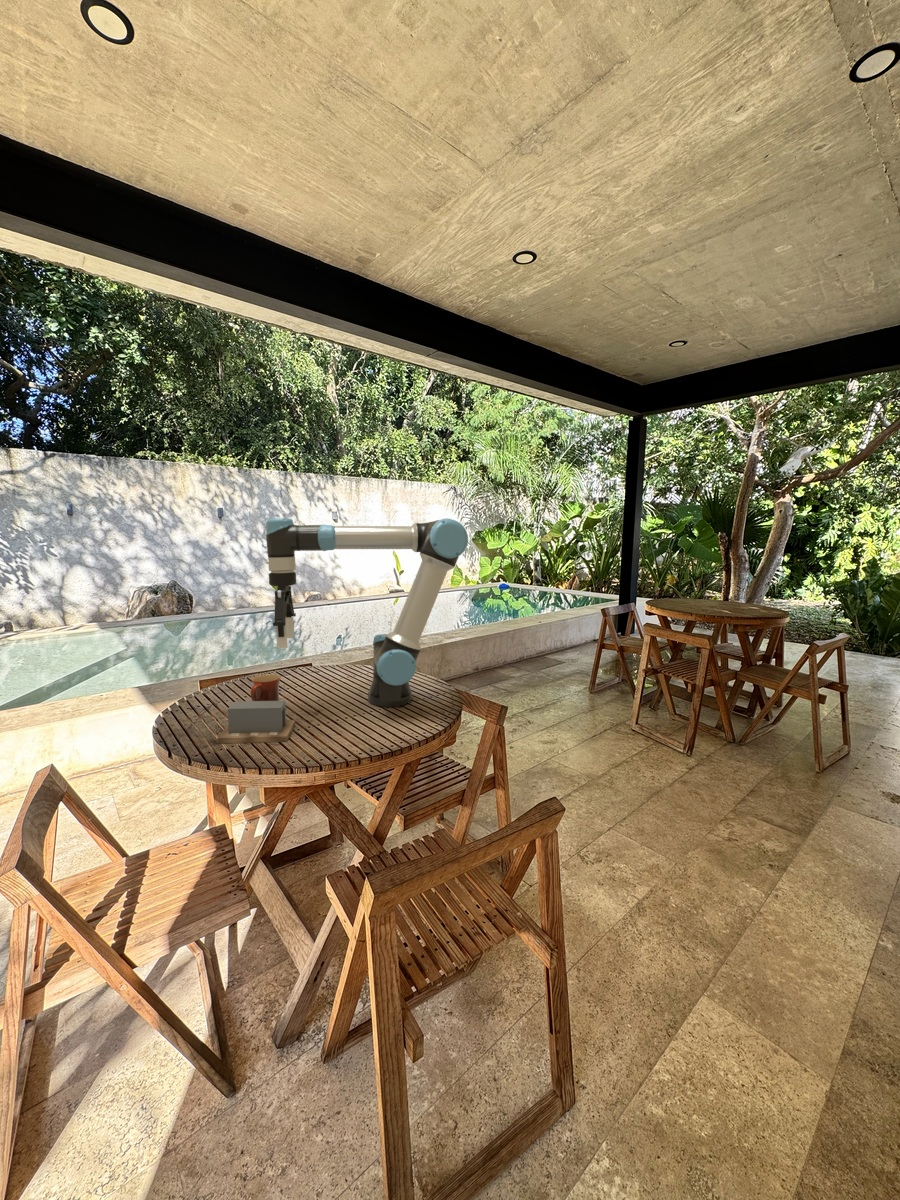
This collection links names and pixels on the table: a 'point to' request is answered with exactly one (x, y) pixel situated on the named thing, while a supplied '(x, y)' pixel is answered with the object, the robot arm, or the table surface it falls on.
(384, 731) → the table surface
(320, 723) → the table surface
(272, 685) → the mug
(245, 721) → the block
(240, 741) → the board
